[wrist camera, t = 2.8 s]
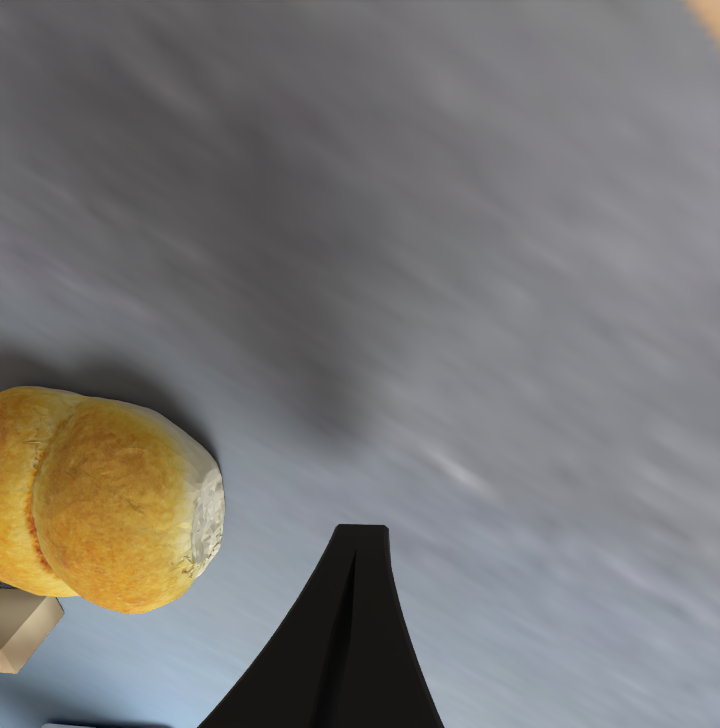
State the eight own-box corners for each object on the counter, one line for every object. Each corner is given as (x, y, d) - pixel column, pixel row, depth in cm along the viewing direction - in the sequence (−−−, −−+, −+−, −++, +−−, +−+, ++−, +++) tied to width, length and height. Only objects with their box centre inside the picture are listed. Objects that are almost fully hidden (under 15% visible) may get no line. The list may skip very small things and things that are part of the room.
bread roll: (-32, 361, 14) (-189, 426, 10) (227, 401, 13) (160, 484, 10) (24, 540, 17) (-79, 636, 14) (232, 576, 17) (183, 686, 13)
